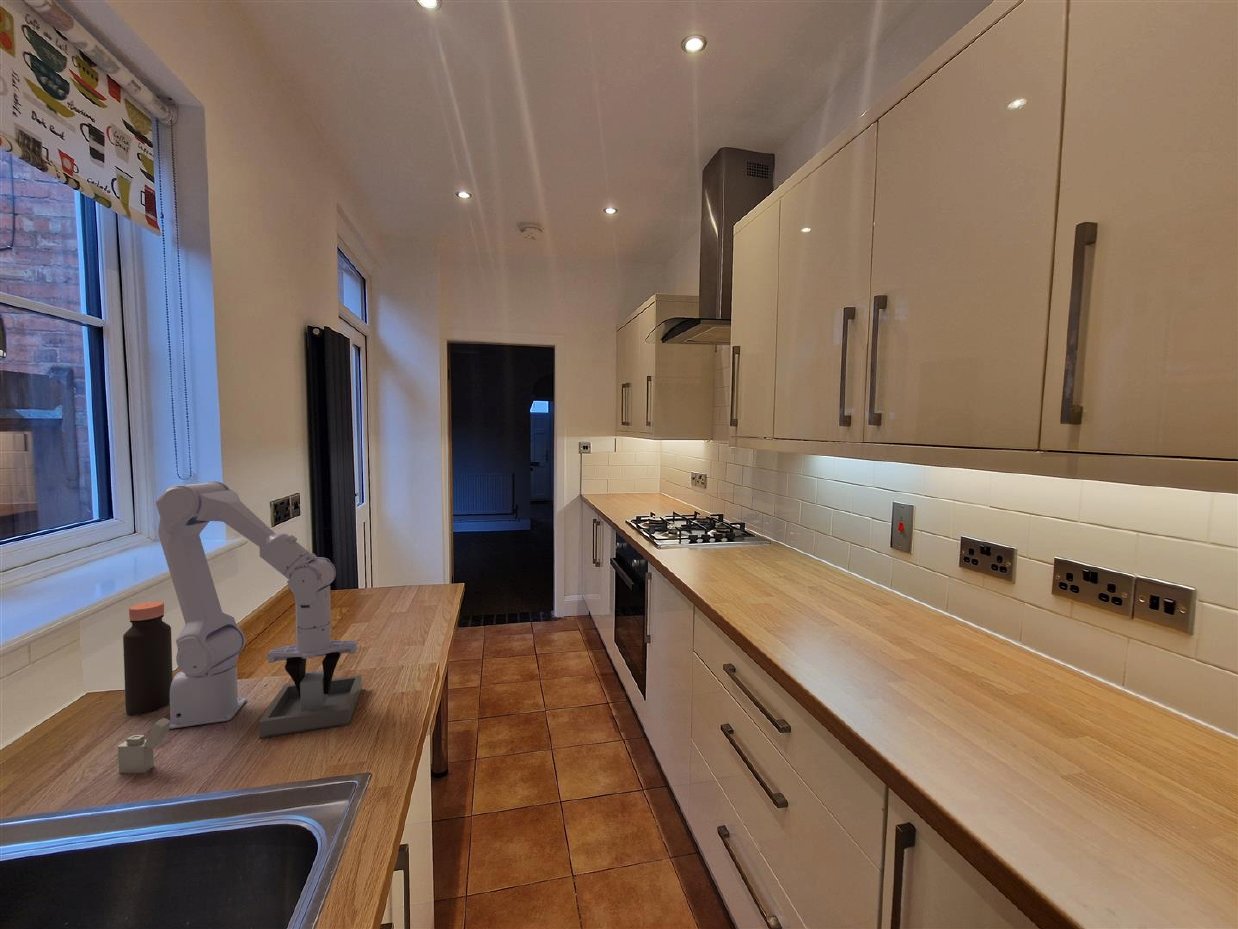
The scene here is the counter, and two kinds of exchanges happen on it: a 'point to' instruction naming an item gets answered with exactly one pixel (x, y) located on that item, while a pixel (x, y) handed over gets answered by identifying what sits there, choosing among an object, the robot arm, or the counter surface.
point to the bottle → (147, 659)
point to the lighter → (141, 749)
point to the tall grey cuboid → (312, 691)
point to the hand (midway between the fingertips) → (314, 693)
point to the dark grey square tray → (334, 713)
